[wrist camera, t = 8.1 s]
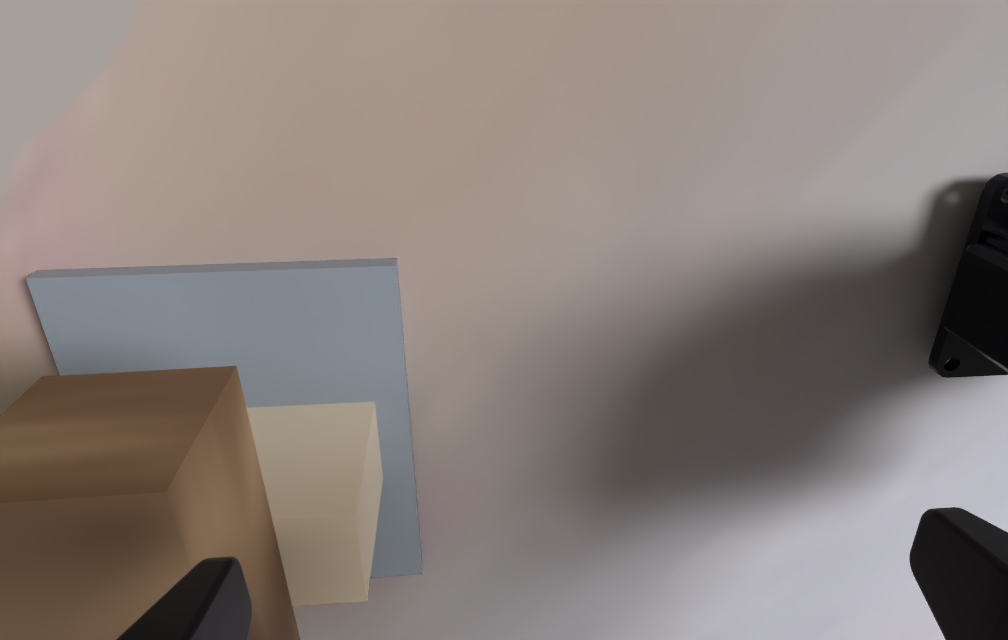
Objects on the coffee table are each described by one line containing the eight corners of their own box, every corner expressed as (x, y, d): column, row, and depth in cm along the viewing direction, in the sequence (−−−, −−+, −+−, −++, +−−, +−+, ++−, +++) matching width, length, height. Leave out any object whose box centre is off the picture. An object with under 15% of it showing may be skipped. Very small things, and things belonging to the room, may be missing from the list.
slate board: (397, 255, 19) (380, 351, 14) (422, 557, 25) (416, 707, 20) (41, 267, 19) (-113, 373, 14) (145, 575, 24) (63, 734, 19)
